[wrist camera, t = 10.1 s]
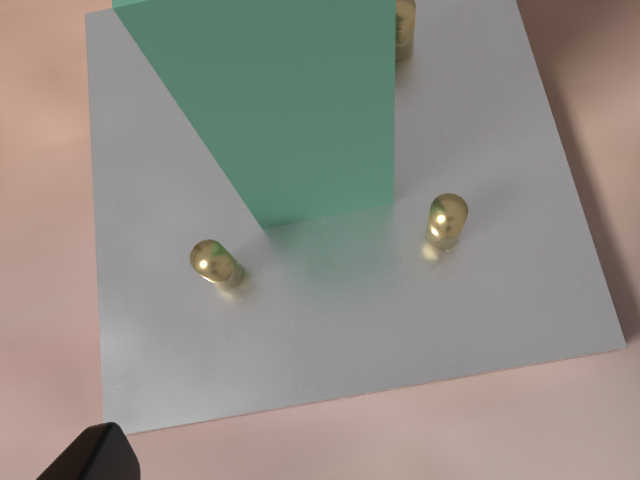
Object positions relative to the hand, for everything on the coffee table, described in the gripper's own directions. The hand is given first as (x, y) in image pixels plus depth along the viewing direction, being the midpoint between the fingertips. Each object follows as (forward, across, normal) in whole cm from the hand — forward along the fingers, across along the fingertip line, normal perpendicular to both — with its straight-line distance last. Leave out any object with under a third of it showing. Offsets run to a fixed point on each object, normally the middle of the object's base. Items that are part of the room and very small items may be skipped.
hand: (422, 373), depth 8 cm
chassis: (+16, +1, +2) cm, 16 cm away
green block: (+15, +1, +2) cm, 15 cm away
